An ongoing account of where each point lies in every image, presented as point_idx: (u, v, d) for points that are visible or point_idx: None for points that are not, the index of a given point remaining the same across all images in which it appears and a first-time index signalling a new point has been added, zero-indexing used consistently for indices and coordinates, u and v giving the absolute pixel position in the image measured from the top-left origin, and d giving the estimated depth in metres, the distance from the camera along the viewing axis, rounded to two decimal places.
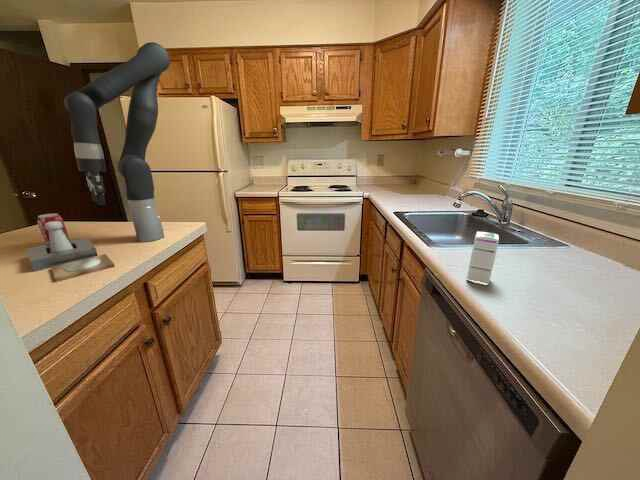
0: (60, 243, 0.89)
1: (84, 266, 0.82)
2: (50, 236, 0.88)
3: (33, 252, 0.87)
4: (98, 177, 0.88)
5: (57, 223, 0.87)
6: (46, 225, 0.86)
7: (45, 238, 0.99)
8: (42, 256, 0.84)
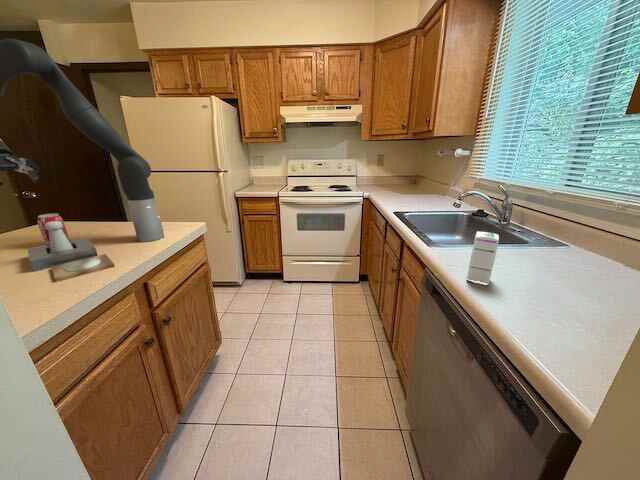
0: (60, 243, 0.89)
1: (84, 266, 0.82)
2: (50, 236, 0.88)
3: (33, 252, 0.87)
4: None
5: (57, 223, 0.87)
6: (46, 225, 0.86)
7: (45, 238, 0.99)
8: (42, 256, 0.84)
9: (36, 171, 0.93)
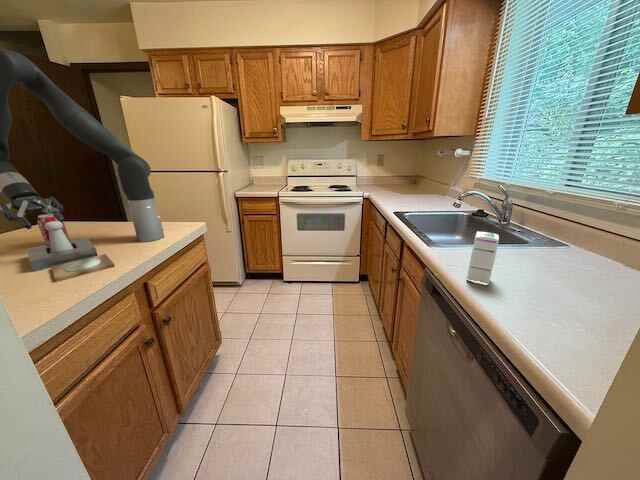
0: (60, 243, 0.89)
1: (84, 266, 0.82)
2: (50, 236, 0.88)
3: (33, 252, 0.87)
4: None
5: (57, 223, 0.87)
6: (46, 225, 0.86)
7: (45, 238, 0.99)
8: (42, 256, 0.84)
9: (61, 211, 0.95)
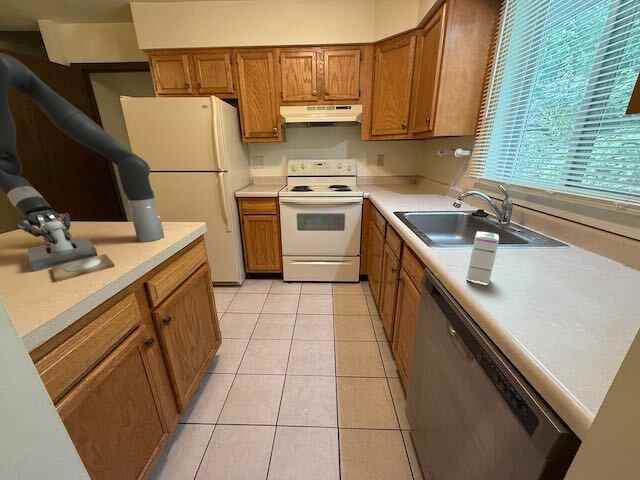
0: (60, 243, 0.89)
1: (84, 266, 0.82)
2: None
3: (33, 252, 0.87)
4: (19, 225, 0.83)
5: (57, 223, 0.87)
6: (46, 225, 0.86)
7: (45, 238, 0.99)
8: (42, 256, 0.84)
9: (68, 228, 0.93)
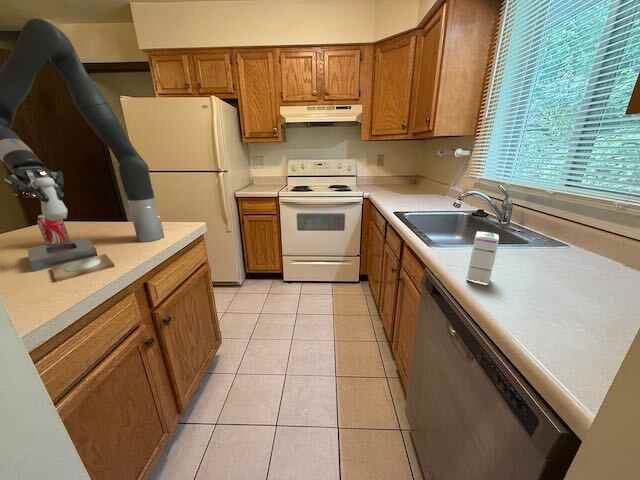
0: (52, 202, 0.80)
1: (84, 266, 0.82)
2: None
3: (33, 252, 0.87)
4: (6, 179, 0.75)
5: (48, 179, 0.79)
6: (36, 180, 0.77)
7: (45, 238, 0.99)
8: (42, 256, 0.84)
9: (61, 187, 0.84)
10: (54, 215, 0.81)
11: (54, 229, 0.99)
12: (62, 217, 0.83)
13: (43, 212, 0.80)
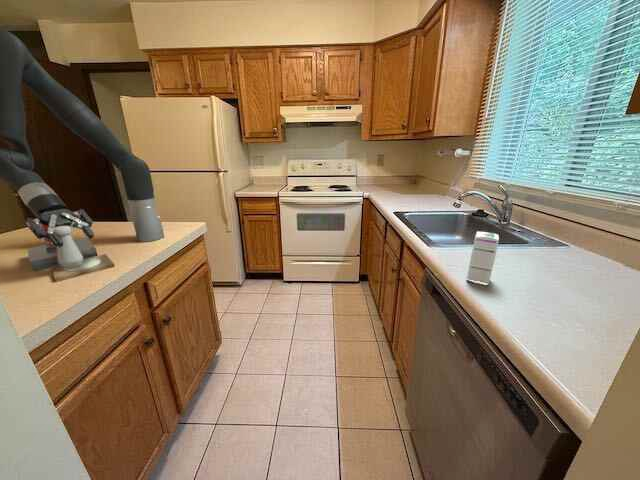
0: (68, 250, 0.79)
1: (84, 266, 0.82)
2: None
3: (33, 252, 0.87)
4: (27, 222, 0.74)
5: (66, 228, 0.78)
6: None
7: (45, 238, 0.99)
8: (42, 256, 0.84)
9: (90, 225, 0.86)
10: (70, 263, 0.80)
11: None
12: (77, 265, 0.82)
13: (59, 261, 0.79)
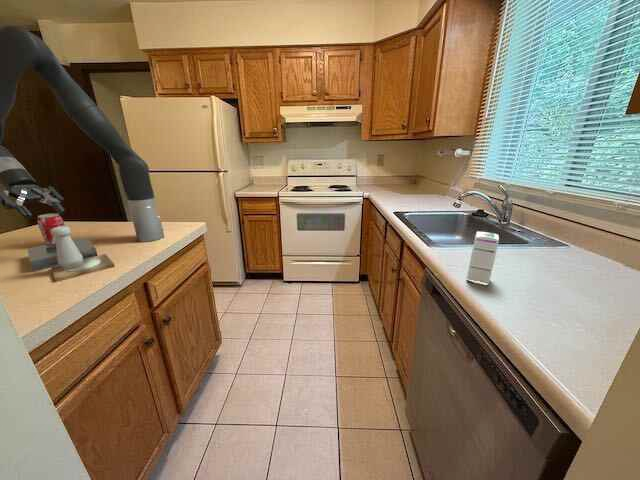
0: (68, 251, 0.79)
1: (84, 266, 0.82)
2: (57, 243, 0.78)
3: (33, 252, 0.87)
4: None
5: (65, 229, 0.78)
6: (52, 231, 0.76)
7: (45, 238, 0.99)
8: (42, 256, 0.84)
9: (60, 202, 0.89)
10: (70, 264, 0.80)
11: None
12: (77, 265, 0.82)
13: (59, 261, 0.79)
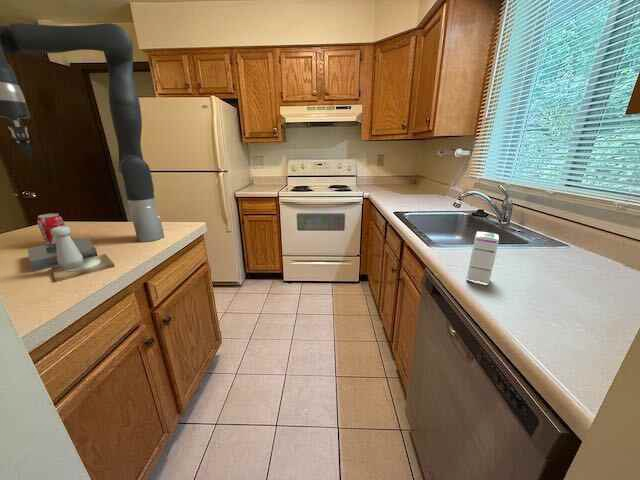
0: (68, 251, 0.79)
1: (84, 266, 0.82)
2: (57, 243, 0.78)
3: (33, 252, 0.87)
4: (17, 122, 0.78)
5: (65, 229, 0.78)
6: (52, 231, 0.76)
7: (45, 238, 0.99)
8: (42, 256, 0.84)
9: None
10: (70, 264, 0.80)
11: None
12: (77, 265, 0.82)
13: (59, 261, 0.79)
